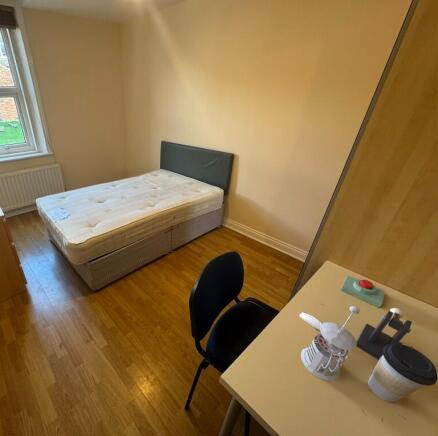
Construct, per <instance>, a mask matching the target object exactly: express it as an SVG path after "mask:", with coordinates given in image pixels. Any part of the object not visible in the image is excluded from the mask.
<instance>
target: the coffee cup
mask: <svg viewBox="0 0 438 436" xmlns="http://www.w3.org/2000/svg"><path fill="white" fill-rule="evenodd" d="M437 372H438V371H437V368H436V366H435V365H434V363H433V362H432V361H431V359H429V358H428V357H427V356H426V355H425V354H423V353H422V352H421V351H419V350H417V349H416V348H414V347H411V346H409V345H406V344H404V343H403V344H389V345H387V346H385V347H384V348H383V355H382V356H381V358H380V360H378V361H377V363H376V365H375V367H374V368H373V370H372V374H371V375H370V377H369V378H368V381H367V385H368V388H369V389H370V391H371V392H372V393H373V394H374V395H375V396H376V397H377V398H378V399H380V400H382V401H384V402H386V403H389V404H392V403H396V402H397V401H399V400H401V399H402V398H405V397H409V396H410V395H411V394H413V393H415V392H417V391H419V390H420V389H422V388H424V386H427V387H428V386H434V385H435V384H436V383H437V381H438V373H437Z"/></svg>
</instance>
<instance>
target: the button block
mask: <svg viewBox="0 0 438 436" xmlns="http://www.w3.org/2000/svg"><path fill="white" fill-rule="evenodd" d="M361 280H362V279H361V278H360V279H359V278H358V279H357V278H355V277H352V276H350V275H346V277H345V279H344V281H343V283H342V285H341V288H340V291H341V292H343V293H345V294H348V295H350V296H352V297H355V298H357V299H359V300H361V301H363V302H365V303H367V304H370V305H372V306H374V307H376V308H378V309H380V308H381V306H382V305H383V302H384V298H385V293H386V291H385V290H384V289H381V288H379V287H376V286H375V284H373V287H372V288H371V289H365V288H363V287H362V286H360V282H361Z"/></svg>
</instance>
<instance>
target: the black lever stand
mask: <svg viewBox="0 0 438 436" xmlns="http://www.w3.org/2000/svg"><path fill="white" fill-rule="evenodd" d="M392 315H393V312H391V311H390V310H388V311H387V313H386V314H384V315H382V316H381V318H380V322H379V323H378V324H377V325H376V326H375V327H374V326H372V325H371V324H368V323H366V324H365V326H364V327H363V329H362V331H361V333H360V335H359V336H358V338H357V340H356V342H357V345H356V348H359V349H360V350H362V351H363V352H365V353H366V354H368V355H370V356H371V357H373V358H374V359H376V360H378V361H379V360H380V358H381V356H382V355H383V348H384V347H385V346H387V345H389V344H403V345H404V343H403V342H401V340H402V339H403V338H404V337H405V336H406V335H407V334H410V332H411V331H412V328H411V326H412V323H413V321H411V320H409V319H407V320H405V322H403V325H402V327H401V328H400V329H399V331H397V330H396V332H395V333H394V335H393V336H390V335H388V334H387V333H385V332H383V330H384V329H385V328H386V326H387V325H389V322H390V321H391V319H392V318H393V316H392Z"/></svg>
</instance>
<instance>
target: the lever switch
mask: <svg viewBox="0 0 438 436" xmlns="http://www.w3.org/2000/svg"><path fill="white" fill-rule="evenodd" d="M389 311H391V312H393V315H392V317H391V320H390V321H389V323H388V324H387V325H388V327H389V328H391V329H393V330H395V331H396V332H397V331H399V329H400V328H401V327H402V325H403V324H404V321H403V320H400V319H403V318H404V316H405V314H404V311H403V310H401V309H400V308H397V307H394V308H393V307H392V308H390V310H389Z"/></svg>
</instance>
